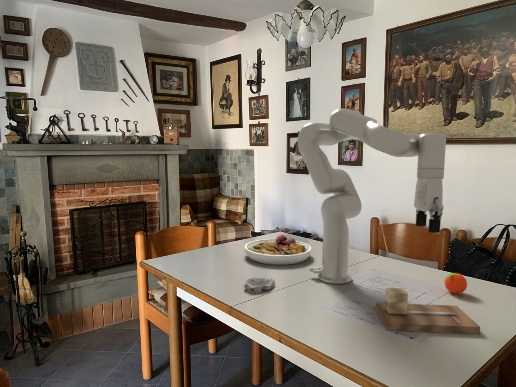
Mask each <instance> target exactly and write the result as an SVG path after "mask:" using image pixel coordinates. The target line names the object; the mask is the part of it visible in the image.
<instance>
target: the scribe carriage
mask: <svg viewBox="0 0 516 387" xmlns="http://www.w3.org/2000/svg"><path fill="white" fill-rule="evenodd" d="M408 299H409V292H407V291H406V290H405V289H404V288H403V287H402V288H399V287H395V288H393V287H385V300H384V303H385V309H386V310H387V312H388V313H389V314H407V304H408V303H409V302H408Z"/></svg>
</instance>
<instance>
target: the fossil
mask: <svg viewBox="0 0 516 387" xmlns="http://www.w3.org/2000/svg"><path fill="white" fill-rule="evenodd" d="M275 281H276V280H274V279H273V278H269V277H257V276H256V277H247V279H246V280H245V282H244V284H243V287H244V291H248V293H250V294H259V293H262V291H269V290H271V289H274V288H275V286H276V282H275Z"/></svg>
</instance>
